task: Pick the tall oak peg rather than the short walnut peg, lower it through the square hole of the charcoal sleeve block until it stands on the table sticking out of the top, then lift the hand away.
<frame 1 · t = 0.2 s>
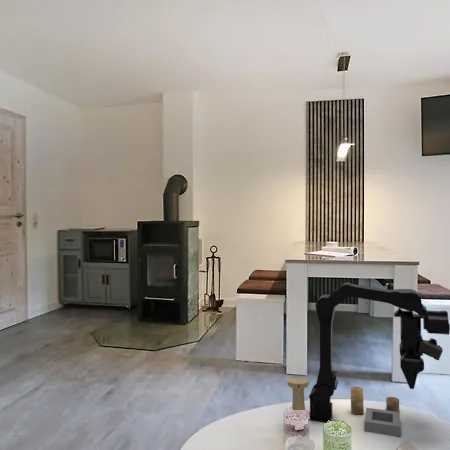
hand: (411, 383, 129), 14 cm above the table, tool pointing down, fingers open, 9 cm apart
short peg: (392, 411, 142), on the table
long peg: (357, 412, 141), on the table
sleeve block: (382, 426, 131), on the table
handle: (299, 429, 131), on the table
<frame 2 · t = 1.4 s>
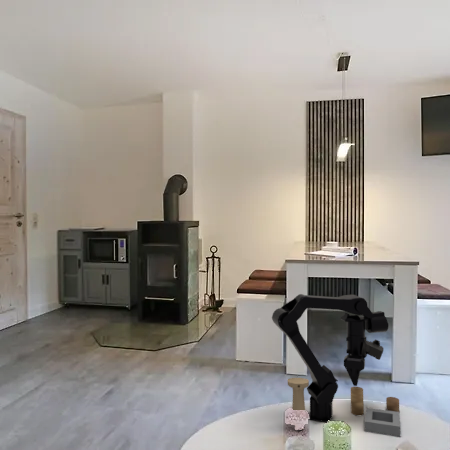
hand: (356, 380, 141), 11 cm above the table, tool pointing down, fingers open, 9 cm apart
nothing on the table moved.
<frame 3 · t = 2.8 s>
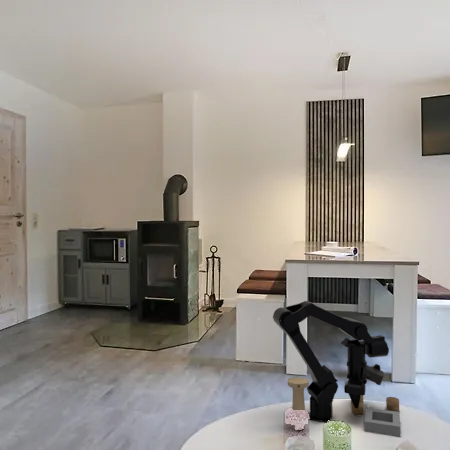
hand: (357, 405, 141), 3 cm above the table, tool pointing down, fingers closed on long peg, 4 cm apart
long peg: (357, 412, 141), on the table, touching gripper
everything else where it was.
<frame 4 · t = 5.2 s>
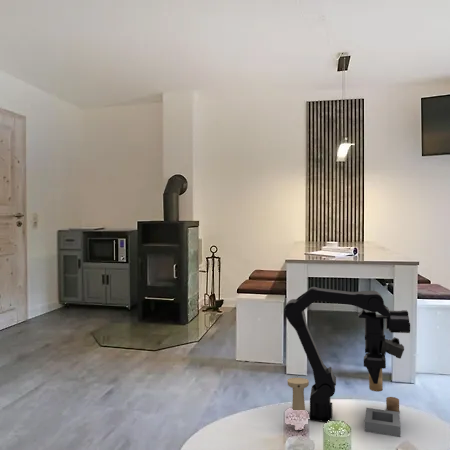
hand: (375, 381, 134), 13 cm above the table, tool pointing down, fingers closed on long peg, 4 cm apart
long peg: (375, 389, 134), point 11 cm above the table, touching gripper
everything else where it was.
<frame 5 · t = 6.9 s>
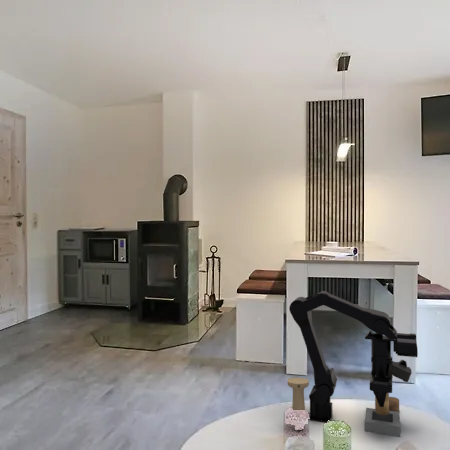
hand: (381, 403, 131), 7 cm above the table, tool pointing down, fingers closed on long peg, 4 cm apart
long peg: (382, 412, 131), point 4 cm above the table, touching gripper
everything else where it was.
when the fingers open (4 cm above the table, at t = 8.0 s): long peg drops 2 cm, resting in sleeve block.
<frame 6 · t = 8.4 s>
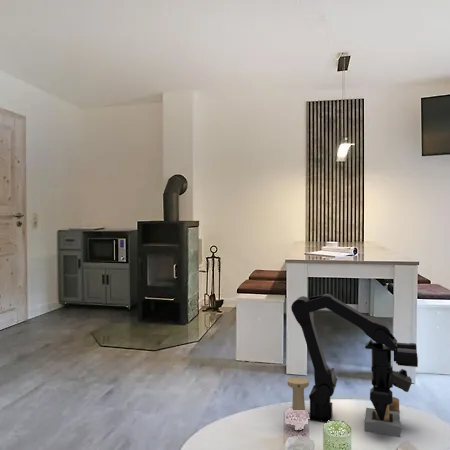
hand: (382, 413, 131), 4 cm above the table, tool pointing down, fingers open, 9 cm apart
long peg: (382, 426, 131), resting in sleeve block
everything else where it was.
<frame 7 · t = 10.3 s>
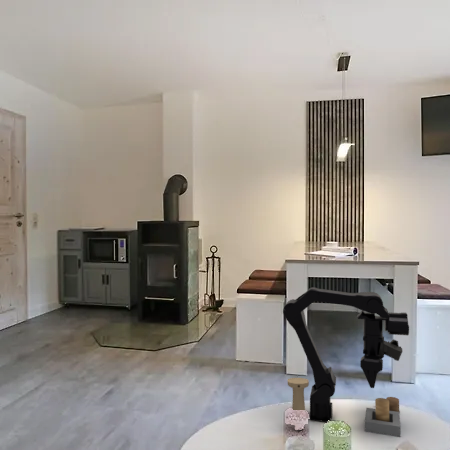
hand: (373, 382, 134), 13 cm above the table, tool pointing down, fingers open, 9 cm apart
nothing on the table moved.
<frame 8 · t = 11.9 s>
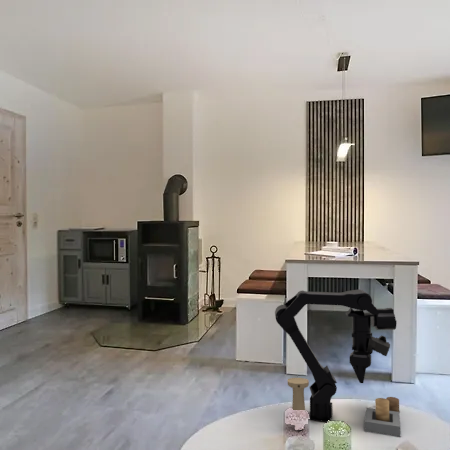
hand: (362, 377, 137), 13 cm above the table, tool pointing down, fingers open, 9 cm apart
nothing on the table moved.
at the end: long peg 0.0 cm off-centre on the sleeve block, point 0.0 cm above the sleeve block's base; long peg tilted 0°; the gripper is holding nothing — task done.
